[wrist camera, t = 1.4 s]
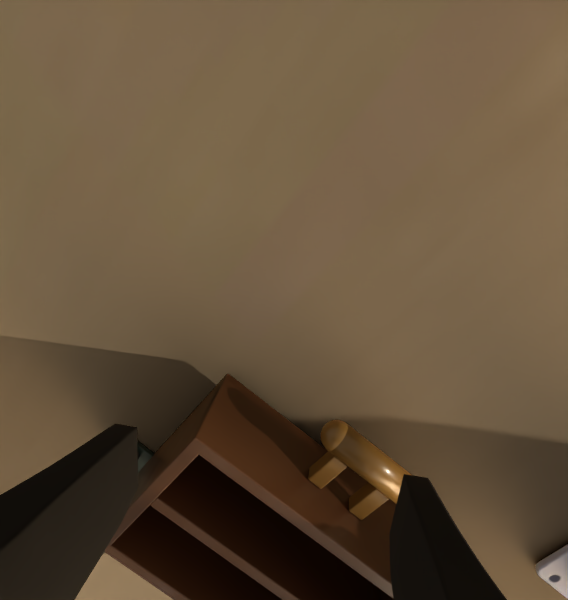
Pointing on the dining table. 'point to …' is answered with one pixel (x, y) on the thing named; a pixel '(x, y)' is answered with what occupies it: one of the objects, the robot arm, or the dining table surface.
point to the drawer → (261, 508)
